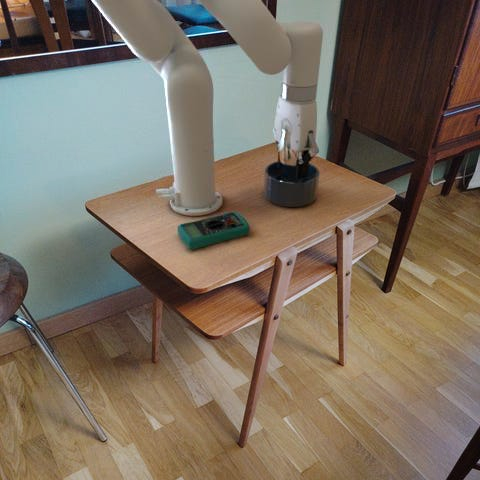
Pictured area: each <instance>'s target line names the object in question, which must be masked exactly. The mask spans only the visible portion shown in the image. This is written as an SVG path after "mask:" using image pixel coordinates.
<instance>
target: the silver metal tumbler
mask: <svg viewBox="0 0 480 480" xmlns="http://www.w3.org/2000/svg"><path fill="white" fill-rule="evenodd" d="M290 136H291V135H290V132H289V131H286V130H284V129H283V128H282V130H281V136H280V144H279V151H278V152H279V155H280V165H281V180H280V181H284V182H292V183H298V182H303V178H301V179H296V167H297V162H299V158H298V152H296V151H294V150H292V149H291V148H290ZM305 147H307V142H306V145H305ZM305 147H304V148H305ZM304 155H306V150H305V151H303V156H304Z"/></svg>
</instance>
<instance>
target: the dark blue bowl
mask: <svg viewBox="0 0 480 480" xmlns="http://www.w3.org/2000/svg"><path fill="white" fill-rule="evenodd" d="M280 180H281V168H280V169H279V168H278V160H276V161H274V162H272V163H270V164H268V165H267V166H266V167H265V169H264V181H263V182H264V183H263V184H264V185H263V196H264V197H265V199H266V200H267V201H268V202H270V203H273V204H275V205H278V206H282V207H290V208H291V207H292V208H295V207H304V206H307V205H310V204H311V203H313V202H314V201H315V200H316V198H317V195H318V189H319V181H320V170H319V168H318V166H316V165H314V164H313V163H310V162H309V167H308V176H307V177H304V178H303V182H298V183H292V182H284V181H280Z"/></svg>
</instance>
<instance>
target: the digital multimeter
mask: <svg viewBox="0 0 480 480" xmlns="http://www.w3.org/2000/svg"><path fill="white" fill-rule="evenodd" d="M177 234H178V236H179V238H180V240H181V241H182V243H183V244H184V245H185V246H186V247H187V248H188V249H189V250H195V249H200V248H203V247H207V246H210V245H211V246H212V245H214V244H218V243H222V242H226V241H230V240H233V239H237V238H241V237H245V236H248V235H250V225H249V222H248V221H247V219H245V217H244V216H242V215H241V214H239V213H237V212H236V211H231V212H227V213H223V214H220V215H215V216H211V217H207V218H203V219H199V220H195V221H190V222H185V223H181V224H179V225H177Z"/></svg>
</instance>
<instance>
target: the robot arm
mask: <svg viewBox="0 0 480 480" xmlns="http://www.w3.org/2000/svg"><path fill="white" fill-rule="evenodd" d="M198 1H199V2H200V4H201V5H202V6H203V7H204V8H205V10H206V11H207V12H208V13H209V14H210V15H211V16H212V17H213V18H214V19H215V20H216V21H217V22H219V24H220V25H221V26H222V27H223V28H224V29H225V30H226V32H227V33H228V34H229V35H230V37H232V39H233V40H234V41H235V43H236V44H237V45H238V46H239V47H240V49H241V50H242V51H243V53H244V54H245V55H246V56H247V57H248V59H250V61H251V62H252V64H253V65H254V66H255V67H256V68H257V70H258V71H259V72H261V73H263V74H265V75H270V76H272V75H277V74H280V73H282V75H281V78H282V79H281V91H280V92H281V93H280V95H279V97H278V100H277V104H276V110H275V116H274V125H273V129H272V133H273V138H274V140H275V143H276V145H277V146H276V151H277V152H278V153H277V161H278V168H279V169H280V168H281V165H280V155H279V144H280V136H281V130H282V128H283V129H284V130H286V131H289V132H290V135H291V136H290V148H291V149H292V150H294V151H296V152H298V158H299V162H297V167H296V179H301V178H304V177H307V176H308V167H309V163H310V162H312V159H314V158H315V157H316V156H317V155H318V154H319V152H320V148H319V146H318V144H317V141H316V137H317V129H318V128H317V126H318V105H317V93H318V83H319V75H320V74H319V73H320V65H321V57H322V56H321V54H322V47H323V38H324V37H323V35H324V31H323V27H322V26H321V24H319V23H317V22H312V21H294V22H292V23H291V22H290V23H289V22H288V23H287V22H278V21H277V20H276V18H275V17H274V16H273V13H271V11H270V10H269V9H268V7H267V6H266V5H265V4H264V2H263V1H262V0H198ZM91 2H92V4H93V5H94V6H95V7H96V8H97V9H98V10H99V12H100V13H101V14H102V16H103V17H104V18H105V20H106V21H107V22H108V23H109V24H110V25H111V27H112V28H113V29H114V30H115V32H116V33H117V34H118V35H119V37H120V38H121V39H122V40H123V41H124V43H125V44H126V45H127V47H128V49H130V50H131V52H132V54H134V55H135V56H136V57H137V58H138V59H140V60H141V61H143V62H146V63H148V64H150V66H151V67H152V68H153V70H155V71H156V73H157V74H158V75H159V76H160V78H161V79H162V80H163V85H164V86H163V87H164V94H165V102H166V103H165V104H166V112H167V122H168V123H167V124H168V133H169V141H170V152H171V160H172V161H171V162H172V171H173V180H174V182H172V186H169V188H156V189H155V193H156V198H162V199H161V201H162V202H168V201H169V204H170V208H171V209H172V210H173V211H174V212H176V213H178V214H180V215H184V216H190V217H191V216H192V217H198V216H205V215H209V214H212V213H214V212H216V211H218V210H219V209H220V208H221V207H222V206H223V197H222V195H221V194H220V193H219V192H218V191H216V171H215V170H216V169H215V142H214V141H215V140H214V139H215V138H214V84H213V83H214V82H213V78H212V74H211V72H210V69H209V67H208V65H207V64H206V62H205V59H204V58H203V56H202V55H201V53H200V51H198V50H199V49H197V48H196V46H195V45H194V43H193V42H192V41H191V40H190V38H189V37H188V36H187V34H186V33H185V32H184V31H183V29H182V27H181V26H180V25H179V24H178V22H177V21H176V20H175V19H174V17H173V15H172V14H171V13H170V12H169V10H168V9H167V8H166V7H165V5H164V4H163V3H161V2H160V1H158V0H91ZM306 142H307V147H305V145H306ZM304 147H305V148H304ZM305 150H306V155H304V156H303V151H305Z"/></svg>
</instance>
